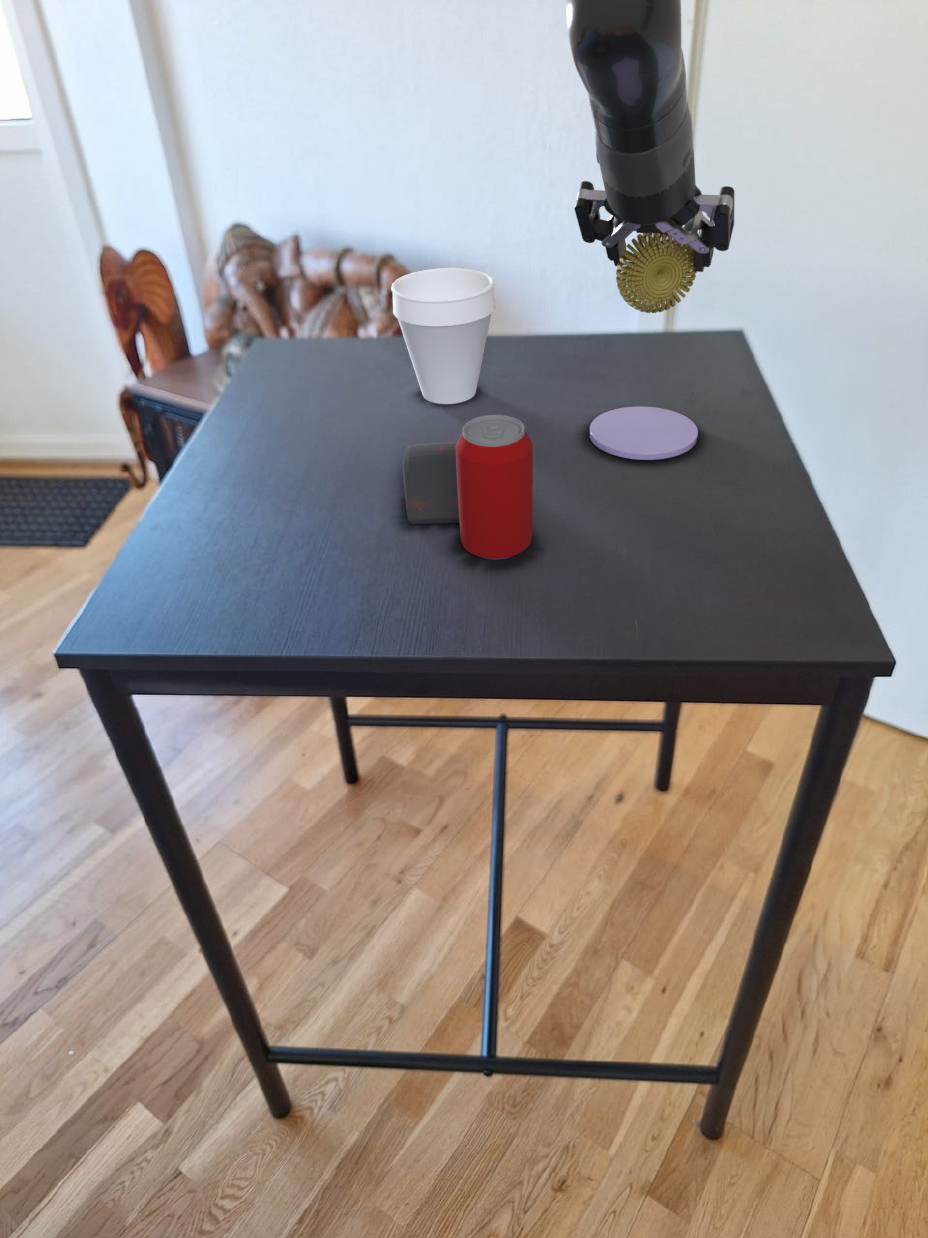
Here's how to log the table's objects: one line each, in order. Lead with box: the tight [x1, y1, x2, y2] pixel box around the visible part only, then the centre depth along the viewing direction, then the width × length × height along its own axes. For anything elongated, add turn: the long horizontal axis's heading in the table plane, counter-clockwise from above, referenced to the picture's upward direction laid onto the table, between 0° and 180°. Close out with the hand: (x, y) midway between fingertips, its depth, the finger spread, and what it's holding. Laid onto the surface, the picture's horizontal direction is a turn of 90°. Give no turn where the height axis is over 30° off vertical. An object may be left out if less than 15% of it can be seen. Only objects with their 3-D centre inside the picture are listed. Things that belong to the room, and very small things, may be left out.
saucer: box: [589, 405, 699, 461], centre depth 95 cm, size 12×12×1 cm
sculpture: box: [615, 233, 697, 314], centre depth 83 cm, size 8×4×8 cm, turn 97°
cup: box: [390, 267, 496, 405], centre depth 103 cm, size 12×12×14 cm
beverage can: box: [455, 414, 534, 561], centre depth 76 cm, size 7×7×12 cm
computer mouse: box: [402, 441, 460, 525], centre depth 87 cm, size 8×14×4 cm, turn 179°
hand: (660, 260), depth 84 cm, fingers closed on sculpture, 7 cm apart
